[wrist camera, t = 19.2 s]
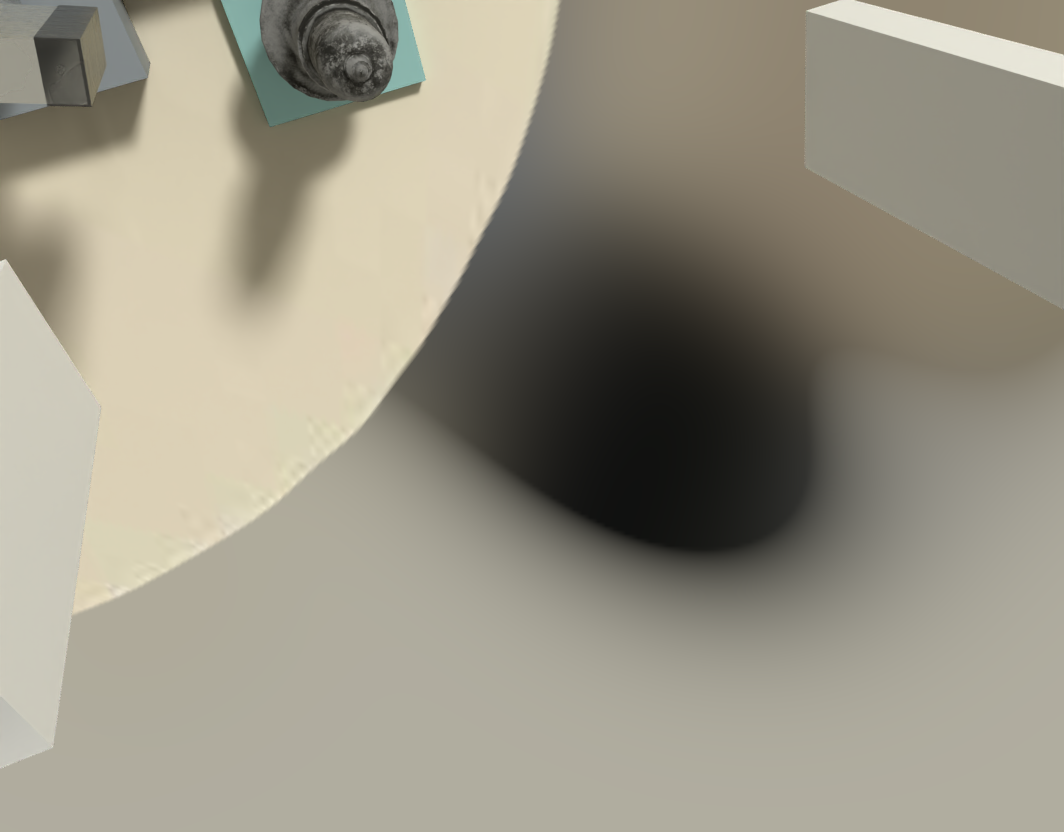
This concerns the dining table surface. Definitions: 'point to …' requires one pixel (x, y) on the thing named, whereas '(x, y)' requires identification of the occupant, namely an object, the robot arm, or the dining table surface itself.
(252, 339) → the dining table surface
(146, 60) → the block
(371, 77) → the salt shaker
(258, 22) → the coaster
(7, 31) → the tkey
